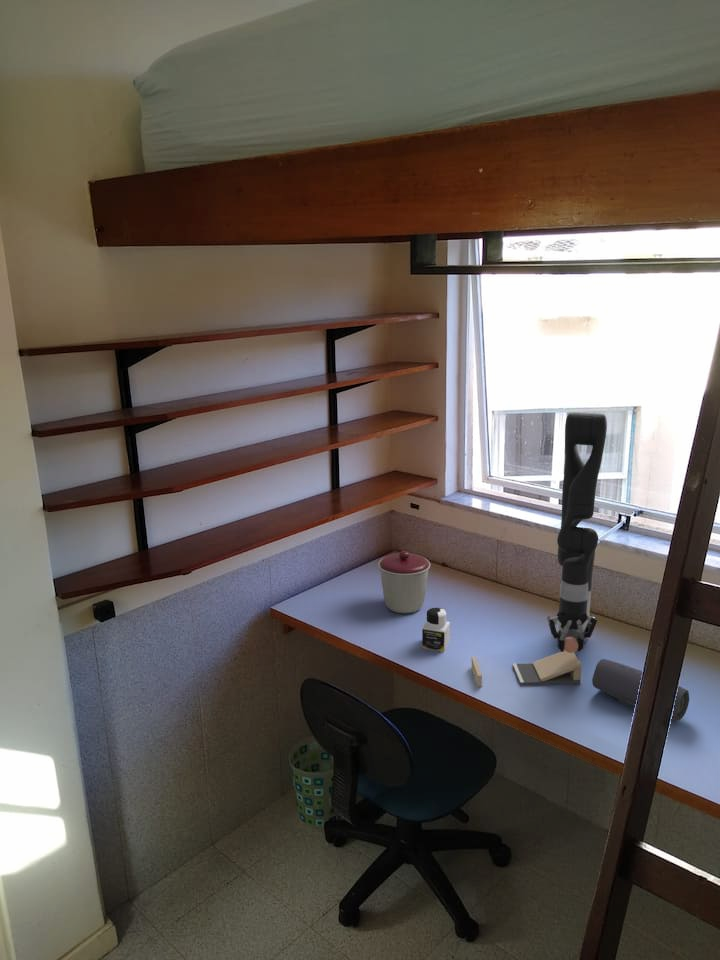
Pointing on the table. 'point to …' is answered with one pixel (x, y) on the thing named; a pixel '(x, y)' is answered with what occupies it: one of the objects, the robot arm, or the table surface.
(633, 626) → the table surface
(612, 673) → the bluetooth speaker
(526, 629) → the table surface
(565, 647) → the ball
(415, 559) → the canister
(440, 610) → the medicine bottle
